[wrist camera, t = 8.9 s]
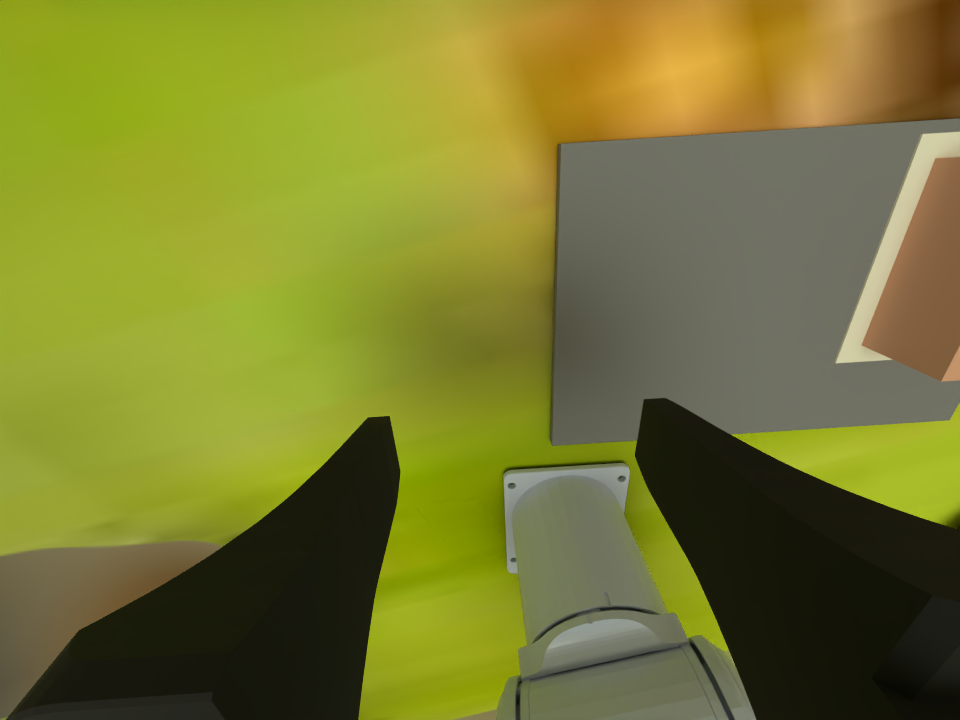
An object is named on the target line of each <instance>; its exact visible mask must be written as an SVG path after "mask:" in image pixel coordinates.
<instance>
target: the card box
mask: <svg viewBox="0 0 960 720" xmlns="http://www.w3.org/2000/svg"><path fill="white" fill-rule="evenodd" d="M862 346H864V347H866V348H868V349H871V350H873V351H875V352H877V353H879V354H882V355H884V356H886V357H888V358H890V359H893V360H895V361H897V362H899V363H901V364H904V365H906V366H908V367H910V368H912V369H915V370H917V371H919V372H921V373H923V374H926V375H928V376H930V377H932V378H934V379H937V380H939V381H941V382H943V381H957V380H960V157H946V158H935V161H934V163H933V166H932V168H931V171H930V173H929V176H928V178H927V181H926V183H925V186H924V188H923V191H922V193H921V196H920V199H919V201H918V204H917V206H916V209H915V211H914V214H913V216H912V219H911V221H910V224H909V226H908V229H907V231H906V234H905V236H904V239H903V241H902V244H901V247H900V249H899V252H898V254H897V257H896V259H895V262H894V264H893V267H892V269H891V272H890V274H889V277H888V279H887V282H886V284H885V287H884V290H883V292H882V295H881V297H880V300H879V302H878V305H877V307H876V310H875V312H874V315H873V317H872V320H871V322H870V325H869V327H868V330H867V332H866V335H865V338H864V340H863V343H862Z"/></svg>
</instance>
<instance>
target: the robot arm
mask: <svg viewBox="0 0 960 720" xmlns="http://www.w3.org/2000/svg"><path fill="white" fill-rule="evenodd" d="M635 457H636V460H637V463H638V465H639V468H640V471H641V473H642V476H643V478H644V480H645V483H646V485H647V487H648V489H649V491H650V493H651V495H652V497H653V498H654V500H655V502H656V504H657V506H658V507H659V509H660V511H661V513H662V515H663V516H664V518H665V520H666V522H667V523H668V525H669V527H670V529H671V530H672V532H673V534H674V536H675V537H676V539H677V541H678V543H679V544H680V546H681V548H682V550H683V551H684V553H685V555H686V557H687V558H688V560H689V562H690V564H691V566H692V568H693V570H694V572H695V574H696V576H697V578H698V580H699V582H700V584H701V586H702V589H703V591H704V593H705V595H706V598H707V600H708V602H709V604H710V606H711V609H712V611H713V613H714V615H715V618H716V620H717V622H718V625H719V627H720V630H721V632H722V634H723V637H724V639H725V642H726V644H727V646H728V649H729V651H730V653H731V656H732V658H733V661H734V663H735V666H736V667H735V666H734V664H733V663H732V661H731V660H730V659H729V657H728V656H727V655H726V653H725V652H724V651H722V650H721V649H720V648H718V647H717V646H715V645H714V644H712V643H710V642H709V641H708V639H706V638H705V637H703V636H701V635H699V636H694V637H689V638H688V639H687V636H686V634H685V632H684V630H683V628H682V626H681V623H680V621H679V619H678V617H677V615H676V614H675V613H669V614H668V611H667V609H666V607H665V605H664V602H663V600H662V598H661V596H660V594H659V591H658V589H657V587H656V585H655V582H654V580H653V578H652V576H651V573H650V571H649V569H648V567H647V565H646V562H645V560H644V558H643V556H642V553H641V551H640V549H639V547H638V545H637V542H636V540H635V538H634V536H633V533H632V531H631V529H630V527H629V525H628V522H627V520H626V518H625V516H624V511H625V504H626V497H627V490H628V483H629V476H630V469H629V467H628V465H627V464H625V463H613V464H597V465H582V466H566V467H550V468H535V469H519V470H509V471H507V472H505V473H504V476H503V481H504V505H505V530H506V555H507V570H508V571H509V572H510V573H518V576H519V584H520V592H521V600H522V608H523V616H524V624H525V632H526V640H527V646H525V647H522V648H519V649H518V653H519V663H520V673H521V675H517V676H513V677H510V678H509V679H508V680H507V682H506V684H505V687H504V691H503V693H502V695H501V697H500V700H499V703H498V707H497V716H496V720H960V530H957V529H953V528H950V527H947V526H944V525H941V524H938V523H935V522H932V521H929V520H925V519H922V518H919V517H917V516H914V515H911V514H908V513H905V512H902V511H899V510H896V509H893V508H891V507H888V506H885V505H883V504H880V503H877V502H875V501H872V500H870V499H867V498H864V497H862V496H859V495H856V494H854V493H851V492H849V491H846V490H844V489H841V488H839V487H836V486H834V485H832V484H829V483H827V482H825V481H822V480H820V479H818V478H816V477H813V476H811V475H809V474H807V473H804V472H802V471H800V470H798V469H796V468H793V467H791V466H789V465H787V464H785V463H783V462H781V461H779V460H777V459H775V458H773V457H771V456H769V455H767V454H765V453H763V452H762V451H760V450H758V449H756V448H754V447H752V446H750V445H748V444H746V443H745V442H743V441H741V440H739V439H737V438H736V437H734V436H732V435H730V434H728V433H727V432H725V431H723V430H721V429H720V428H718V427H716V426H715V425H713V424H711V423H709V422H708V421H706V420H704V419H703V418H701V417H699V416H697V415H696V414H694V413H692V412H691V411H689V410H687V409H685V408H684V407H682V406H680V405H678V404H677V403H675V402H673V401H671V400H669V399H667V398H654V399H644V401H643V407H642V413H641V420H640V426H639V432H638V439H637V445H636V452H635ZM620 476H622V477H620ZM618 477H620V478H618ZM399 480H400V467H399V462H398V457H397V451H396V446H395V441H394V436H393V431H392V426H391V421H390V416H384V417H369V418H367V419H366V420H365V421H364V422H363V423H362V425H361V426H360V427H359V428H358V429H357V430H356V431H355V432H354V433H353V434H352V435H351V436H350V437H349V439H348V440H347V441H346V442H345V443H344V444H343V445H342V446H341V447H340V448H339V449H338V450H337V451H336V452H335V453H334V454H333V455H332V457H331V458H330V459H329V460H328V461H327V462H326V463H325V464H324V465H323V466H322V467H321V468H320V469H319V470H318V471H316V472H315V473H314V474H313V475H312V476H311V477H310V478H309V479H308V480H307V481H306V482H305V483H304V484H303V485H302V486H301V487H300V488H298V489H297V490H296V491H295V492H294V493H293V494H292V495H291V496H289V497H288V498H287V499H286V500H285V501H284V502H282V503H281V504H280V505H279V506H277V507H276V508H275V509H274V510H272V511H271V512H270V513H269V514H267V515H266V516H265V517H264V518H262V519H261V520H260V521H258V522H257V523H256V524H254V525H253V526H252V527H250V528H249V529H247V530H246V531H245V532H243V533H242V534H240V535H239V536H237V537H236V538H235V539H233V540H232V541H230V542H229V543H228V544H226V545H225V546H223V547H222V548H220V549H219V550H218V551H216V552H215V553H213V554H212V555H210V556H209V557H207V558H206V559H204V560H202V561H201V562H200V563H198V564H196V565H195V566H193V567H191V568H190V569H188V570H186V571H185V572H183V573H181V574H180V575H178V576H177V577H175V578H173V579H172V580H170V581H168V582H167V583H165V584H163V585H162V586H160V587H158V588H156V589H155V590H153V591H151V592H149V593H148V594H146V595H144V596H142V597H140V598H138V599H137V600H135V601H133V602H131V603H129V604H127V605H126V606H124V607H122V608H120V609H118V610H116V611H115V612H113V613H111V614H109V615H107V616H105V617H103V618H102V619H100V620H98V621H96V622H94V623H92V624H90V625H88V626H87V627H84V628H83V629H81V630H79V631H78V632H77V633H76V635H75V636H74V637H73V638H72V639H71V641H70V642H69V643H68V644H67V646H66V647H65V648H64V650H63V651H62V652H61V653H60V654H59V655H58V657H57V658H56V659H55V660H54V661H53V663H52V664H51V665H50V666H49V668H48V669H47V670H46V671H45V672H44V674H43V675H42V676H41V677H40V679H39V680H38V681H37V682H36V683H35V685H34V686H33V687H32V688H31V690H30V691H29V692H28V693H27V695H26V696H25V697H24V698H23V700H22V701H21V702H20V703H19V704H18V705H17V707H16V708H15V709H14V711H13V712H12V713H11V714H10V715H9V716H8V718H7V719H6V720H358V716H359V708H360V699H361V691H362V682H363V675H364V667H365V660H366V652H367V645H368V638H369V631H370V624H371V617H372V610H373V604H374V598H375V593H376V588H377V583H378V579H379V575H380V571H381V567H382V563H383V559H384V555H385V550H386V546H387V542H388V538H389V534H390V530H391V526H392V522H393V518H394V514H395V509H396V505H397V498H398V490H399ZM509 483H514V484H512V485H510V484H509ZM736 668H737V669H736Z"/></svg>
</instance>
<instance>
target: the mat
mask: <svg viewBox="0 0 960 720" xmlns="http://www.w3.org/2000/svg"><path fill="white" fill-rule="evenodd" d="M946 157H960V119H944V120H928V121H912V122H897V123H881V124H865V125H849V126H833V127H818V128H802V129H786V130H770V131H755V132H739V133H723V134H707V135H692V136H676V137H660V138H644V139H629V140H613V141H597V142H581V143H566V144H558V173H557V210H556V247H555V285H554V322H553V359H552V397H551V434H550V440H551V443H552V446H556V445H571V444H587V443H602V442H618V441H633V440H637V439H638V432H639V426H640V420H641V413H642V407H643V401H644V399H654V398H667V399H669V400H671V401H673V402H675V403H677V404H678V405H680V406H682V407H684V408H685V409H687V410H689V411H691V412H692V413H694V414H696V415H697V416H699V417H701V418H703V419H704V420H706V421H708V422H709V423H711V424H713V425H715V426H716V427H718V428H720V429H721V430H723V431H725V432H727V433H728V434H743V433H758V432H774V431H789V430H805V429H820V428H836V427H852V426H867V425H883V424H898V423H914V422H929V421H945V420H950V418H951V416H952V415H953V413H954V411H955V409H956V408H957V406H958V404H959V402H960V380H957V381H943V382H941V381H939V380H937V379H934V378H932V377H930V376H928V375H926V374H923V373H921V372H919V371H917V370H915V369H912V368H910V367H908V366H906V365H904V364H901V363H899V362H897V361H895V360H893V359H890V358H888V357H886V356H884V355H882V354H879V353H877V352H875V351H873V350H871V349H868V348H866V347H864V346H862V343H863V340H864V338H865V335H866V332H867V330H868V327H869V325H870V322H871V320H872V317H873V315H874V312H875V310H876V307H877V305H878V302H879V300H880V297H881V295H882V292H883V290H884V287H885V284H886V282H887V279H888V277H889V274H890V272H891V269H892V267H893V264H894V262H895V259H896V257H897V254H898V252H899V249H900V247H901V244H902V241H903V239H904V236H905V234H906V231H907V229H908V226H909V224H910V221H911V219H912V216H913V214H914V211H915V209H916V206H917V204H918V201H919V199H920V196H921V193H922V191H923V188H924V186H925V183H926V181H927V178H928V176H929V173H930V171H931V168H932V166H933V163H934V161H935V158H946Z"/></svg>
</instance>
